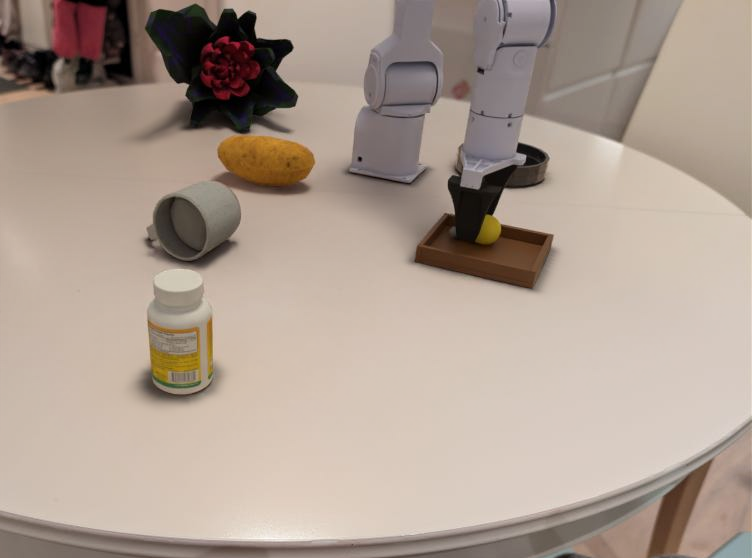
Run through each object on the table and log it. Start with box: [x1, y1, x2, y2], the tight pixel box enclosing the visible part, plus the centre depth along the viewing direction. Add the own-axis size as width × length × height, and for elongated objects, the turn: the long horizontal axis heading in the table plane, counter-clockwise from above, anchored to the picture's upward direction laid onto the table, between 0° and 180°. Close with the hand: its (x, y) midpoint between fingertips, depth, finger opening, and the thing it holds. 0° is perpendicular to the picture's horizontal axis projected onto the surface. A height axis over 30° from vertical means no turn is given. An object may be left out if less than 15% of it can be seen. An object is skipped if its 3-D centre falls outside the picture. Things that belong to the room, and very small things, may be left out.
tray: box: [414, 212, 555, 289], centre depth 86 cm, size 13×11×2 cm
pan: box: [455, 141, 550, 188], centre depth 110 cm, size 13×13×3 cm
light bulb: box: [449, 215, 501, 245], centre depth 88 cm, size 3×6×4 cm, turn 71°
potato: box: [216, 134, 316, 187], centre depth 103 cm, size 8×14×7 cm, turn 65°
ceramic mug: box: [146, 180, 242, 262], centre depth 85 cm, size 11×8×8 cm
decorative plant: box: [144, 3, 299, 133], centre depth 123 cm, size 21×26×30 cm
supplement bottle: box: [146, 268, 214, 395], centre depth 62 cm, size 5×5×10 cm
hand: (474, 228), depth 87 cm, fingers open, 7 cm apart
